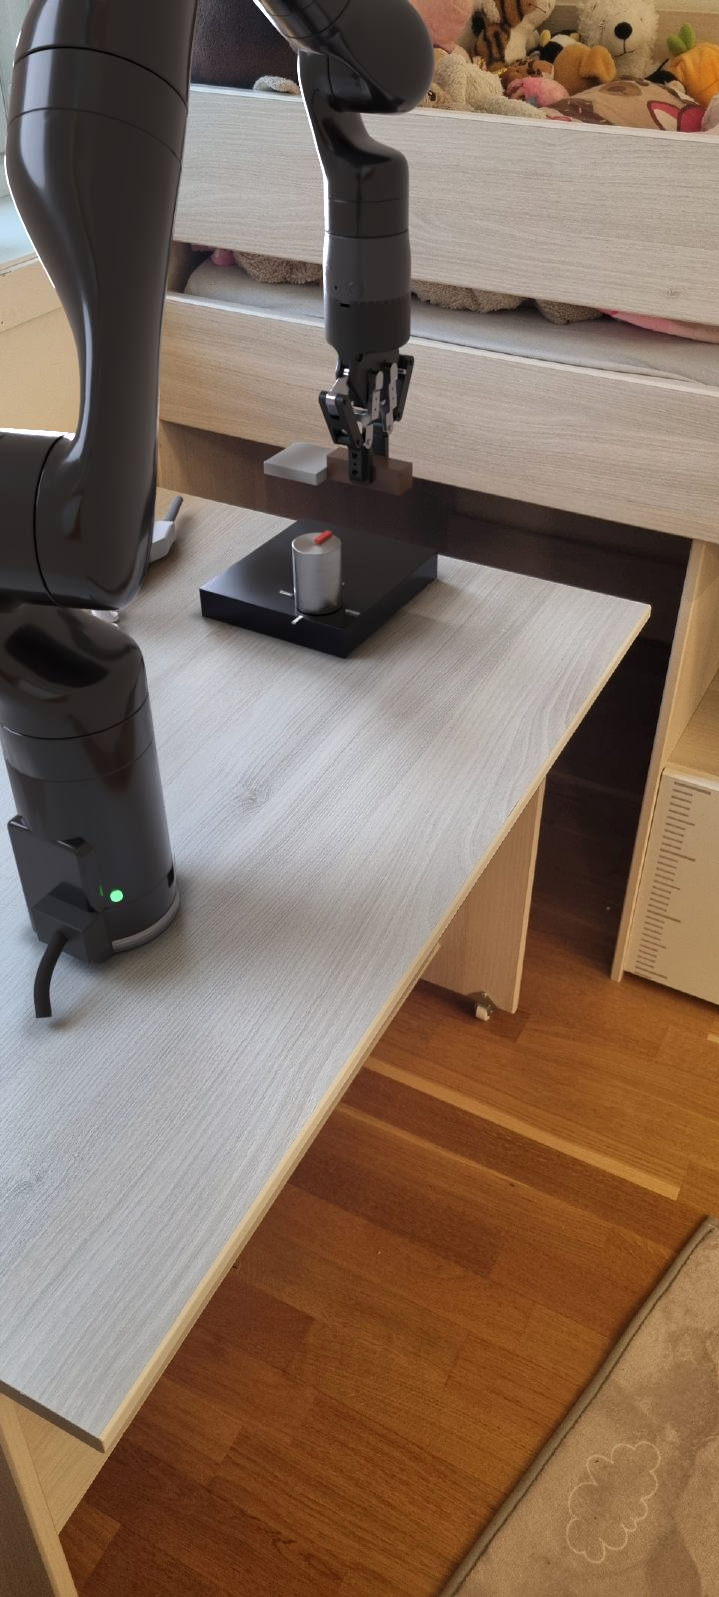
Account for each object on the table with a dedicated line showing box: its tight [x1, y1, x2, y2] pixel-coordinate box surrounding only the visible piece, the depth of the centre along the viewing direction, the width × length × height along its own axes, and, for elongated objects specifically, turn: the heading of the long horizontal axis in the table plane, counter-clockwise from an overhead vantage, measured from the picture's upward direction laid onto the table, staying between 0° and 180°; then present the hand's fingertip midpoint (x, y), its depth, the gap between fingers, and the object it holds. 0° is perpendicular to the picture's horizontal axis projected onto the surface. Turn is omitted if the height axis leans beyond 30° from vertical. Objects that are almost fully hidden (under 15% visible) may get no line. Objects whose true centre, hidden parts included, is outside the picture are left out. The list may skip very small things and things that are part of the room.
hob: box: [198, 517, 439, 660], centre depth 116 cm, size 19×16×3 cm
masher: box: [263, 441, 414, 497], centre depth 114 cm, size 14×6×2 cm, turn 60°
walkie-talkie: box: [149, 495, 184, 563], centre depth 125 cm, size 9×4×20 cm
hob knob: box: [292, 531, 343, 615], centre depth 108 cm, size 4×4×6 cm
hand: (368, 477), depth 113 cm, fingers closed on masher, 2 cm apart
